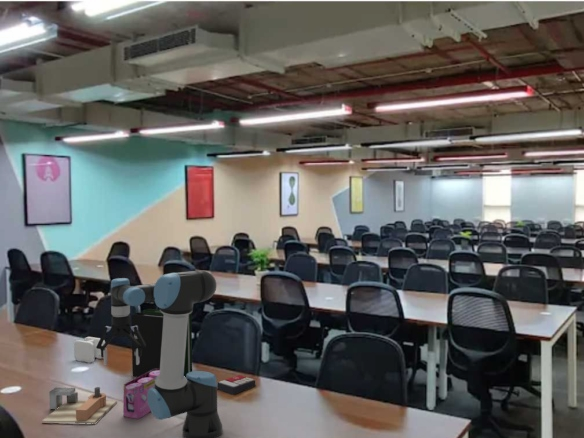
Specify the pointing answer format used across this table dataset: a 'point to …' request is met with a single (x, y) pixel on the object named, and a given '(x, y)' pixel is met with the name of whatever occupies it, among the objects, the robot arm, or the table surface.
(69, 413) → the plate
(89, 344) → the cable organizer
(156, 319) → the binder
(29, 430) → the table surface
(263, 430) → the table surface
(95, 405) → the link
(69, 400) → the keeper
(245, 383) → the calculator
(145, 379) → the gum box
